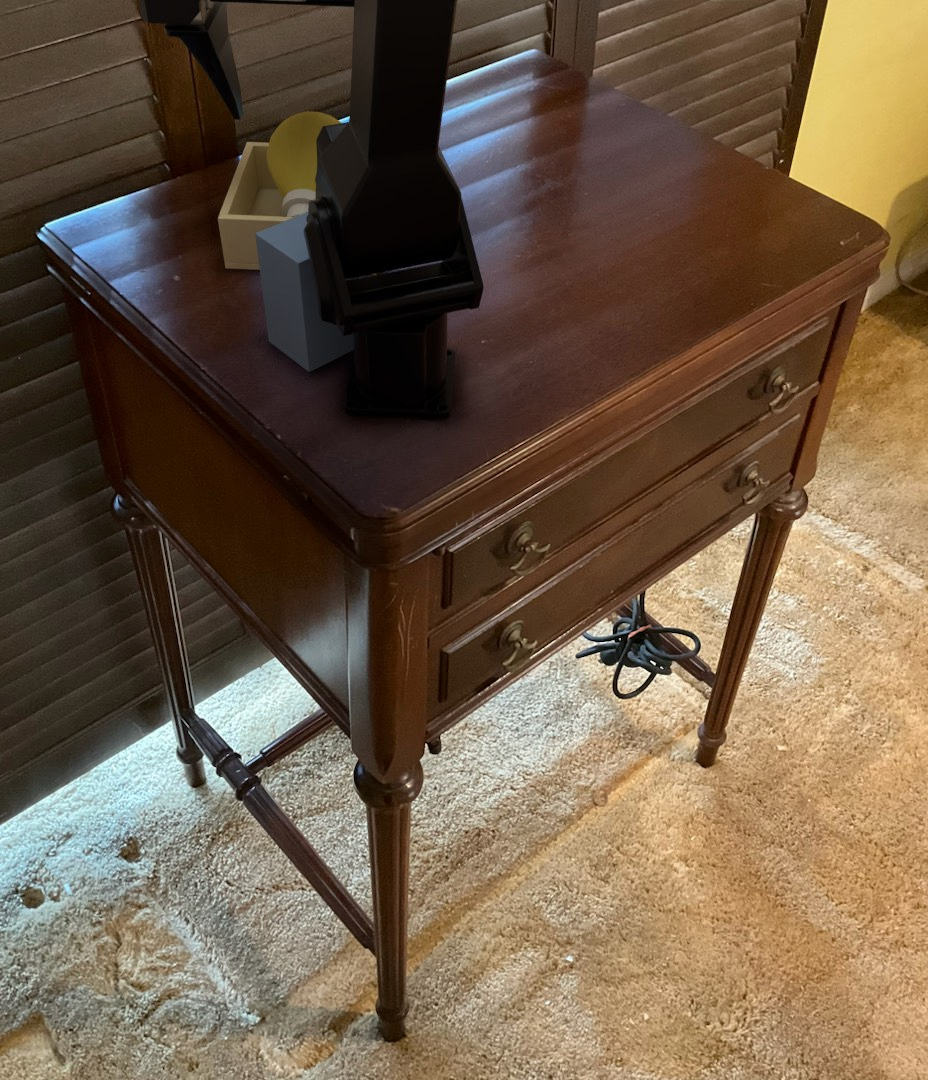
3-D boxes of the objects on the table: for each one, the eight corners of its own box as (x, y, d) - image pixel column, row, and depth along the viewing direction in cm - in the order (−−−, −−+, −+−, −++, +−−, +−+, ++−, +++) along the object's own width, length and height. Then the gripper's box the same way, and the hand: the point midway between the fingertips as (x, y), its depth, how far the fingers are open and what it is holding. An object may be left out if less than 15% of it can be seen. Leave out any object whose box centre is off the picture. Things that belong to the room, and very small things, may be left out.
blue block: (362, 345, 73) (357, 237, 67) (309, 372, 71) (298, 263, 65) (321, 316, 75) (312, 209, 70) (268, 341, 73) (254, 233, 67)
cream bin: (382, 275, 79) (380, 224, 76) (225, 268, 79) (217, 218, 76) (395, 196, 87) (394, 147, 84) (253, 190, 87) (246, 141, 84)
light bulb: (317, 178, 73) (333, 78, 78) (234, 208, 76) (255, 109, 81) (368, 246, 79) (380, 148, 84) (288, 271, 81) (304, 175, 86)
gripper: (448, -169, 71) (446, 75, 82) (157, -179, 71) (195, 65, 82) (438, -115, 63) (437, 146, 74) (112, -126, 63) (160, 135, 75)
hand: (305, 119), depth 77 cm, fingers open, 9 cm apart
